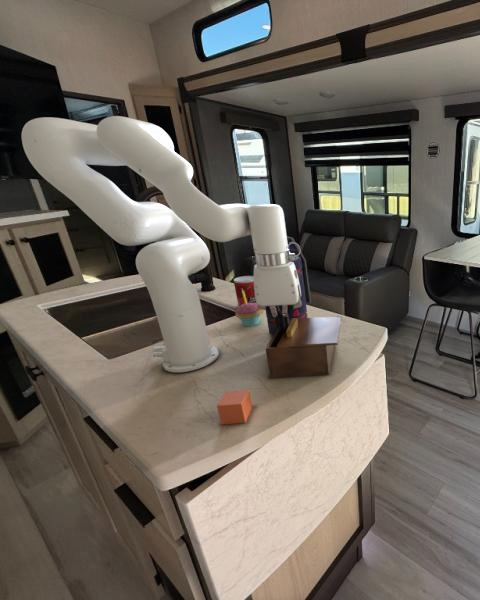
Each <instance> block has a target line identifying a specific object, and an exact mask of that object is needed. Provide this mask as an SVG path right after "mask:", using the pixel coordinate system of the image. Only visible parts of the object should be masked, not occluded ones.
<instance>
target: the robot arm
mask: <svg viewBox="0 0 480 600" xmlns="http://www.w3.org/2000/svg"><path fill="white" fill-rule="evenodd" d="M21 142H22V147H23V150H24V153H25V155H26V157H27V159H28V161H29V163H30V164H31V165H32V167H33V168H34V169H35V170H36V171H37V173H38V174H39V175H40V176H41V177H42V178H43V179H44V180H46V182H48V183H49V184H50V185H51V186H53V188H55V189H56V190H57V191H59V192H61V193H62V194H63V195H64V196H65V197H66V198H68V199H69V200H70V201H72V202H73V203H74V204H75V206H77V207H78V208H79V209H80V210H81V211H82V212H83V213H84V214H85V215H86V216H88V218H89V219H91V221H93V223H95V224H96V225H97V226H98V227H99V228H100V229H101V230H103V232H105V233H106V235H108V236H109V237H110V238H111V239H112V240H114V241H115V242H117V243H118V244H120V245H123V246H126V247H127V246H128V247H133V246H135V247H136V246H141V245H145V244H148V245H146V246H144V247H143V248H141V249H140V250H139V251H138V253H137V255H136V258H135V266H136V270H137V273H138V274H139V276H140V278H141V279H142V281H143V283H144V285H145V286H146V289H147V291H148V294H149V296H150V299H151V302H152V306H153V309H154V312H155V315H156V319H157V322H158V325H159V329H160V333H161V337H162V340H163V343H164V346H162V345H161V346H160V345H159V346H154V347H153V349H152V357H153V358H163V359H164V360H163V362H162V367H163V369H164V370H165V372H169V373H175V374H176V373H178V374H179V373H188V372H193V371H196V370H199V369H202V368H205V367H206V366H208V365H210V364H212V363H213V362H215V361H216V360H217V358H218V357H219V355H220V352H219V349H218V347H216V346H214V345H211V343H210V338H209V333H208V329H207V325H206V321H205V317H204V313H203V308H202V304H201V299H200V296H199V293H198V290H197V288H196V287H195V285H194V284H193V283H192V282H191V279H190V278H189V276H191V275H192V274H194V273H197V272H199V271H201V270H203V269H204V268H206V267H207V266H208V265H209V263H210V260H211V254H210V253H211V252H210V250H209V248H208V246H207V244H206V243H205V242H204V240H202V239H201V237H200V236H199V235H197V233H199V234H200V235H202V236H203V237H205V238H207V239H209V240H211V241H214V242H217V243H226V242H230V241H233V240H236V239H239V238H243V237H247V236H251V241H252V247H253V252H254V253H253V254H254V258H255V264H254V265H253V276H254V291H255V298H256V302H257V308H258V309H261V310H263V311H266V310H267V311H268V312H270V313H271V314H272V315H273V317H275V322H276V327H278V329H279V331H286V330H287V328H288V327H289V325H290V322H289V315H288V314H289V313H290V311H291V310H292V309H295V308H299V307H301V306H302V301H301V299H300V297H301V289H300V284H299V279H298V275H297V271H296V268H295V265H294V263H293V262H290V261H291V260H292V259H296V255H295V253H294V252H293V253H292V252H290V251H289V250H288V242H287V237H288V235H287V227H286V221H285V213H284V210H283V207H281V206H280V205H279V204H273V203H269V204H248V203H246V204H245V203H226V204H225V203H224V204H218V203H216V202H214V201H213V200H212V199H210V197H208V196H207V195H205V194H204V193H203V192H202V191H200V190H199V189H198V188H197V187H196V186H195V185H194V184H193V182H192V178H193V176H194V169H193V166H192V164H191V163H190V162H189V161H188V160H186V159H185V158H184V157H183V156H181V155H180V154H178V153H177V152H175V146H174V142H173V140H172V138H171V136H170V135H169V134H168V133H167V132H166V131H165V130H164V129H163V128H162V127H160V126H159V125H156V124H154V123H151V122H147V121H144V120H140V119H135V118H131V117H126V116H121V115H112V116H108V117H105V118H103V119H101V120H100V121H99V123H98V124H94V123H88V122H82V121H77V120H74V119H69V118H68V119H67V118H61V117H50V116H49V117H47V116H46V117H45V116H44V117H37V118H33V119H31V120H29V121H27V122H26V123H25V124H24V126H23V128H22V131H21ZM89 165H90V166H89ZM91 165H92V166H104V167H105V166H106V167H107V166H108V167H120V166H122V167H123V166H127V167H128V168H130V169H131V170H132V171H134V172H135V173H137V174H138V175H139V176H141V177H142V178H143V179H145V180H146V181H147V182H149V183H150V184H151V185H152V186H154V187H156V189H158V190H159V191H161V192H162V194H163V197H164V200H165V201H166V203H167V204H168V206H169V207H168V206H166V205H164V204H162V203H159V202H156V201H135V200H133V199H131V198H130V197H129V196H128V195H127V194H125V193H124V191H122V190H121V189H120V188H119V186H117V185H116V184H115V183H114V182H113V181H112V180H110V179H109V178H108V177H106V176H104V175H103V174H102V173H100V172H98V171H96V170H94V169H93V168H91ZM196 232H197V233H196ZM278 305H282V312H281V311H280V309H279V306H278Z"/></svg>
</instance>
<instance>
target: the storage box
mask: <svg viewBox="0 0 480 600" xmlns="http://www.w3.org/2000/svg"><path fill="white" fill-rule="evenodd" d="M289 322H290V321H289ZM284 332H285V331H279V329H277V330H276V332H275V334H274V336H272V337H271V339H270V341H269V342H268V344H267V346H266V347H265V355H266V360H267V366H268V367H267V368H268V373H269V378H270V379H279V378H296V377H309V376H310V377H311V376H326V375H327V376H328V375H330V370H331V365H332V360H333V359H332V358H333V354H334V347H335V345H326V346H307V347H288V348H277V345H278V343H279V341H280V339H281V337H282V336H283V334H284Z"/></svg>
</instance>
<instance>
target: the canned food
mask: <svg viewBox="0 0 480 600" xmlns="http://www.w3.org/2000/svg"><path fill="white" fill-rule="evenodd" d="M233 285H234V291H235V295H236V300H237V305H238V306H237V307H239V306H240V305H242V304H244V303H245V301H244V298H243V294H242V289H243V291H244V293H245V297H246V301H247V303H257V302H256V298H255V291H254V275H243V276H238V277H235V278H234V279H233Z"/></svg>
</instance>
